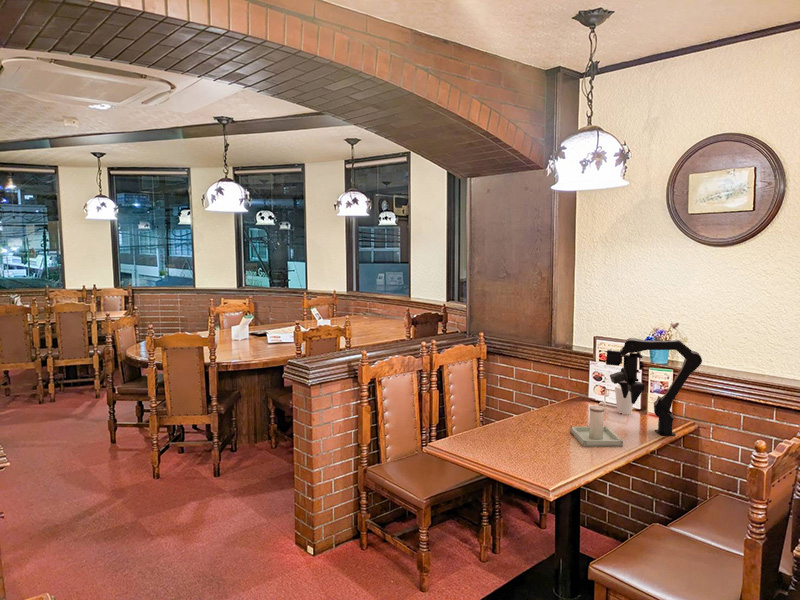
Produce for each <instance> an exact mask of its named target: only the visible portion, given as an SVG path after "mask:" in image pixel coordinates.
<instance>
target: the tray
mask: <svg viewBox="0 0 800 600" xmlns="http://www.w3.org/2000/svg"><path fill="white" fill-rule="evenodd" d="M570 433H571V434H572V435H573V437H575V438H576V440H577V441H578V442H579V444H580V445H582V447H583V448H612V447H613V448H618V447H619V448H623V446H624V445H623V444H624V440H622V439H621V437H619V436H618V435H617V434H616V433H615V432H614V431H612V430H611V429H610V428H609V427H608V426H603V439H600V440H596V439H591V438H590V437H589V426H570Z"/></svg>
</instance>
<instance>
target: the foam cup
mask: <svg viewBox="0 0 800 600" xmlns="http://www.w3.org/2000/svg"><path fill="white" fill-rule="evenodd" d="M614 391H615V401H616V410H617V411H618V412H619V413H618V412H617V411H616V412H617V413H618V414H620V413H622V414H621V415H625V414H629V415H631V414H632V411H633V405H634V404H632V402H631V392H630V391H629V392H628V394H627V397H626V398H623V394H622V390H621V386H620V385H619V384H615V386H614Z"/></svg>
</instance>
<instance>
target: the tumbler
mask: <svg viewBox="0 0 800 600" xmlns="http://www.w3.org/2000/svg"><path fill="white" fill-rule="evenodd" d="M604 415H605V408H604V407H603V406H600V405H591V406H590V407H589V425H588V427H589V437H590V438H591V439H596V440H600V439H603V427H604V420H605V419H604Z"/></svg>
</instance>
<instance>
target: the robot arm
mask: <svg viewBox="0 0 800 600" xmlns="http://www.w3.org/2000/svg"><path fill="white" fill-rule="evenodd" d="M662 350H663V351H670V350H671V351H676V352H677V353H679V354H680V355H681V356H682V357H683V358H684V360H683V363H682V365H681V368H680V370H679V372H678V373H677V375H676V376H675V378H674V379H673V381H672V382H671V384H670V386H669V387H668V389H667V390H666V392H665V393H664V395H662V396H660V395H658V396H657V397H656V398H657V399H655V401H653V411H654V414H655V416H656V417H657V418H658V422H657V423H658V424H657V425H658V426H657V429H654V431H655V432H656V434H658V435H660V436H676V433H675V432H674V431H673V425H674V423H673V422H674V419H675V418H674V414H673V412H672V411H671V408H672V404H673V402H674V400H675V398H676V397H677V395H678V393H679V392H680V390H681V389H682V388H683V385H684V384H685V383H686V381H687V380H688V378H689V376H690V375H692V373H694V371H696V370H697V369H698V368H699V367H700V366H701V365H702V363H703V358H702V356H701V354H700V353H699V352H697V351H695V350H692V349H691V348H689V346H687V345H686V344H684V343H683V342H682V341H681V340H679V339H675V340H673V339H672V340H646V339H645V340H644V339H640V338H634V337H631V338H630V337H629V338H627V339H625V342H624V345H623V346H622V347H621V348H620V350H611V349H607V351H606V357H605V366H606V365H607V366H617V367H619V366H620V365H622V364H623V366H622V368H620V371H617V372H614V373H611V374H609V378H610V381H611V383H613V384H615V385H620V386H621V390H622V394H623V398H626V397H627V394H628V392H629V391H630V392H631V402H632V404H633V405H635V404H636V403H637V401H638V398H639V397H640V395H641V394H642V393H643V392H644V391H646V385H645V384H644V383H643V382H641V381H639V378H637V377H638V373H640V370H639V369H638V362H639V361H638V359H643V355H642V354H641V353H640V352H644V351H662Z"/></svg>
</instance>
